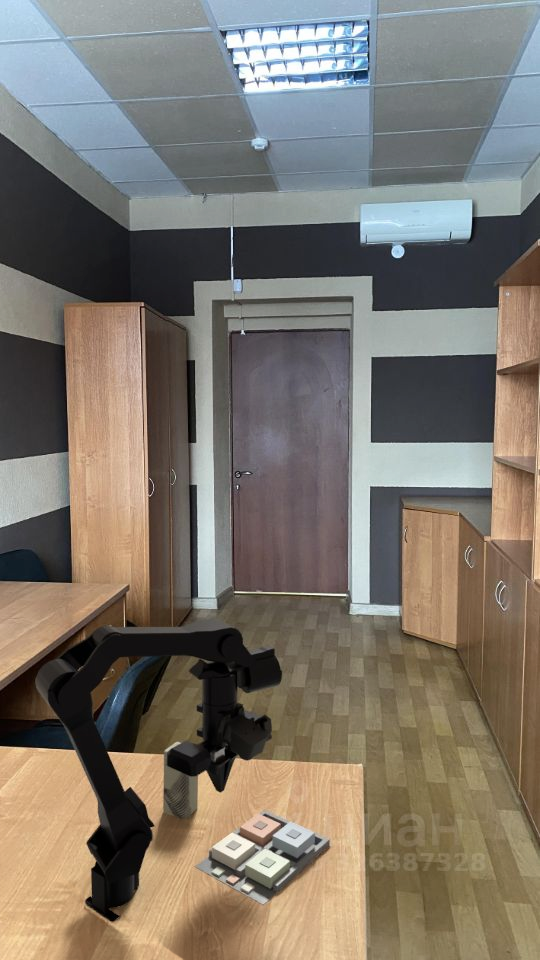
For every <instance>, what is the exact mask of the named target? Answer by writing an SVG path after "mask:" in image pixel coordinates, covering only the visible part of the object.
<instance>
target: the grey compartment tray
mask: <svg viewBox="0 0 540 960" xmlns="http://www.w3.org/2000/svg"><path fill="white" fill-rule="evenodd" d="M258 814H260V815H263V816H265V817H267V818H269V819H271V820H274V821H276V822H278V823H280V824H281V829H282V828H283V827H284V826H285V825H287V824H288V823H289V822H291V821H290V820H288V819H285V818H284V817H281V816H279V815H276V814H274V813H272V812H270V811H268V810H266V809H263V810H262V811H260V812H259V813H258ZM232 833H234V834H236V835H238V836H240V827H239V828H237V829H235V831H233V832H232ZM240 837H242V836H240ZM242 838H244V837H242ZM244 839H246V838H244ZM246 840H248V839H246ZM248 841H250V840H248ZM330 841H331V840H330V838H328V837H326V836H324V835H322V834H319V833H317V832H315V843H314V844H313V845H312V846H311V847H309V848H308V849H307V850H306V851H305V852H304V853H303V854H301V855H300V856H299V857H298V858H296V857H294V856H292V855H290V854H288V853H286V852H284V851H281V850H279V849H277V848H275V847H273V846H272V840H271V841H270V842H269V843H268V844H266V845H265V846H264V847H262V846H260V845H258V844H256V843H254V842H252V841H250V842H252V843H254V844H255V854H254V855H253V856H251V857H250V858H249V859H248V860H246V861H245V862H244V863H243V864H241V865H240V866H239V867H238V868H236V870H234V869H232V868H230V867H229V866H227V865H225V864H223V863H221V862H219V861H217V860H215V859H214V858H212V847H211V848H210V849H208V856H207V857H205V858H204V859H203V860H201V861H200V862H199V863H197V864H196V865H195V866H194V868H195V869H198V870H199V871H201V872H203V873H205V874H207V875H208V876H210V877H212V878H214V879H216V880H218V881H220V882H221V883H223V884H225V885H227V886H229V887H230V888H232V889H234V890H236V891H237V892H239V893H241V894H243V895H245V896H246V897H248V898H250V899H251V900H253V901H255V902H257V903H259V904H261V905H262V906H264V905H265V904H266V903H268V901H270V899H272V898H273V897H274V896H275V895H276V894H277V893H278V892H280V891H281V890H282V889H283V888H284V887H285V886H286V885H287V884H288V883H289V882H290V881H291V880H293V878H295V877H296V876H297V875H298V874H300V872H302V871H303V870H304V869H305V868H306V867H307V866H308V865H309V864H310V863H311V862H313V861H314V860H315V859H316V858H317V857H318V856H319V855H320V854H322V853H323V852H324V851H326V849H327V848H328V847H330V844H331V843H330ZM264 849H267V850H269V851H271V852H273V853H275V854H277V855H279V856H281V857H283V858H285V859H287V860H289V861H290V869H289V870H288V871H287V872H286V873H285V874H284V875H282V876H281V877H280V878H279V879H278V880H277V881H276V882H275V883H273V887H272V888H271V889H270V888H268V887H266V886H264V885H262V884H260V883H259V882H257V881H255V880H253V879H251V878H249V877H247V876H245V864H246V863H248V862H249V861H250V860H251V859H253V858H254V857H255V856H256V855H258V854H259V853H260V852H261V851H263V850H264Z"/></svg>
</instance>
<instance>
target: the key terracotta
mask: <svg viewBox="0 0 540 960" xmlns="http://www.w3.org/2000/svg"><path fill="white" fill-rule="evenodd" d="M239 828H240V836H242V837H244V838H246V839H248V840H250V841H252V842H254V843H256V844H258V845H260V846H262V847H264V846H265V845H266V844H268V843H269V842H270V841H271V840H272V836H273V835H274V834H275V833H277V832H278V831H279V830H280V829H281V824H280V823H278V822H276V821H274V820H271V819H269V818H267V817H265V816H263V815H260V814H259V813H257V814H255V815H254V816H252V817H251V818H250V819H248V820H247V821H245V822H244V823H243V824H241V825H240V826H239Z"/></svg>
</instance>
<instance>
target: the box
mask: <svg viewBox="0 0 540 960" xmlns="http://www.w3.org/2000/svg"><path fill="white" fill-rule="evenodd" d="M180 743H181V742H179V741H175V742H174V743H173V744H171V745H169V747H168V748H166V749H165V750H164V751H163V797H162V798H163V800H162V806H163V807H162V812H163V813H164V814H167V815H169V816H173V817H176V818H179V819H182V820H186V819H188V818H189V817H190V816H191V815H192V814H193V813H194V812H195V811H197V809H198V796H199V794H198V793H199V792H198V791H199V790H198V789H199V788H198V787H199V775H198V776H194V777H191V776H188V775H186V774H184V773H182V772H179V771H177V770H175V769H173V768H170V767H168V766H167V752H168V751H169V750H170V749H171V748H173V747H175V746H177V745H179V744H180Z"/></svg>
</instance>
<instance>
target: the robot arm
mask: <svg viewBox="0 0 540 960" xmlns="http://www.w3.org/2000/svg"><path fill="white" fill-rule="evenodd" d="M239 630H240V629H237V628H236V627H234V626H232V625H230V624H228V623H227V622H224V621H223V620H221V619H218V618H214V617H213V618H212V617H211V618H207V619H206V618H205V619H202V620H196V621H193V622H191V623H189V624H187V625H183V626H111V625H103V626H102V625H101V626H99V627H98V628H96V629H95V630H94V631H93V632H91V634H89V635H88V636H87V637H86V638H83V639H82V640H80V641H79V642H77V643H75V644H73V645H72V646H69V647H68V648H66V649H65V650H64V651H63V652H62V653H61V654H60V655H59V656H58V657H57V658H55V659H52V660H49V661H48V662H45V664H43V665H42V667H40V668H39V670H38V671H37V674H36V677H35V682H34V684H35V687H36V689H37V692H38V693H39V694H40V696H41V697H42V698H43V700H45V702H46V704H47V705H48V706H49V708H50V709H51V710H52V711H53V713H54V714H55V716H56V717H57V718H58V720H59V721H60V722H61V724H62V725H63V727H64V729H65V731H66V733H67V735H68V738H69V740H70V742H71V745H72V747H73V749H74V752H75V753H76V756H77V758H78V760H79V762H80V764H81V767H82V769H83V771H84V774H85V776H86V777H87V778H86V779H87V780H88V782H89V784H90V787H91V789H92V791H93V793H94V796H95V797H96V800H97V815H98V821H99V825H98V827H96V829H95V830H94V832H93V833H92V834H91V836H90V837H89V838H88V839H87V841H86V842H85V843H86V846H87V848H88V851H89V853H90V854H91V855H92V857H93V858H94V860H95V863H94V866H93V867H91V868H90V870H91V871H90V875H91V876H90V877H91V878H90V879H91V882H90V883H91V884H90V885H91V896H88V897H87V898H86V899H85V900H84V904H85V906H86V905H87V907H89V908H90V909H92V910H93V911H94V912H96V913H98V914H99V915H100V916H102V917H104V918H105V919H106V920H107V921H110V923H111V922H115V921H116V920H118V919H119V918H120V917H121V915H119V914H117V913H116V912H114V911H113V910H112V909H114V908H116V909H117V908H119V907H122V906H125V905H126V904H128V903H129V902H130V901H131V900H132V899H133V898H134V896H135V891H137V890H138V888H139V887H140V871H141V868H142V865H143V862H144V860H145V856H146V852H147V850H148V848H149V847H150V845H151V842H152V841H153V839H154V834H153V830H152V828H154V827H155V826H156V825H155V824H154V822H153V821H152V820H151V818H150V816H149V814H148V809H147V805H146V804H145V802H144V801H143V800H142V798H140V796H139V795H138V794H137V793H136V792H135V790H134V789H133V787H131V786H128V788H127V789H126V790H125V789H124V787H123V784H122V782H121V780H120V777H119V775H118V773H117V771H116V768H115V766H114V764H113V762H112V759H111V757H110V754H109V752H108V750H107V748H106V746H105V743H104V741H103V739H102V735H101V734H100V731H99V730H98V727H97V725H96V722H95V720H94V702H93V699H92V692H93V690H95V689H96V688H97V687H98V686H99V685H100V684H101V683H102V681H103V680H104V679H105V676H106V675H107V673H108V672H109V670H110V669H111V667H112V665H113V664H114V663H115V662H117V660H118V659H120V658H143V657H144V658H146V657H149V658H151V657H177V656H178V657H182V656H186V657H187V656H188V657H192V658H193V657H194V658H197V659H198V660H197V662H196V663H195V664H194V665H192V667H190V668H189V670H188V674H190V675H191V676H193V677H194V678H196V679H198V681H201V702H200V703H198V704H197V705H196V712H198V713H201V716H202V717H201V727H199V728H197V729H196V736H197V737H200V738H202V741H201V742H199V743H194V742H191V741H189V740H185V741H183V742H180V744H179V745H177V746H175V747H173V748H171V749H170V750H169V751H168V752H167V766H168V767H170V768H173V769H175V770H177V771H179V772H182V773H184V774H186V775H188V776H191V777H194V776H198V777H199V775H201V774H202V773H203V774H204V773H205V772H206V774H207V775H208V777H209V779H210V781H211V783H212V785H213V787H214V789H215V791H216V792H218V793H222V792H224V791H225V789H226V785H227V784H228V779H229V776H230V773H231V771H232V768H233V765H234V762H235V760H236V758H237V757H238V756H239V758H240V759H242V760H243V761H247V762H248V761H251V760H252V759H253V758H254V757H256V756H257V755H260V754H262V753H263V752H264V749H265V746H266V743H268V742H269V741H270V740H272V739H273V735H272V731H273V726H272V725H273V724H272V718H271V717H269V716H268V715H266V714H264V715H260V714H258V713H254V712H251V711H248V710H247V709H245V707H244V704H243V703H240V702H238V689H241V690H242V691H243V692H244V693H245V694H251V693H254V692H258V691H263V690H265V689H270V688H273V687H277V686H279V685H280V684H281V682H282V680H283V670H282V669H281V664H280V662H279V660H278V658H277V657H276V655H275V653H276V649H275V648H273V647H272V646H270V645H263V646H260V647H259V648H256V649H250V650H248V648H247V647H246V646H245V645H244V638H243V634H242V633H241V631H239ZM206 661H208V662H206Z"/></svg>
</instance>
